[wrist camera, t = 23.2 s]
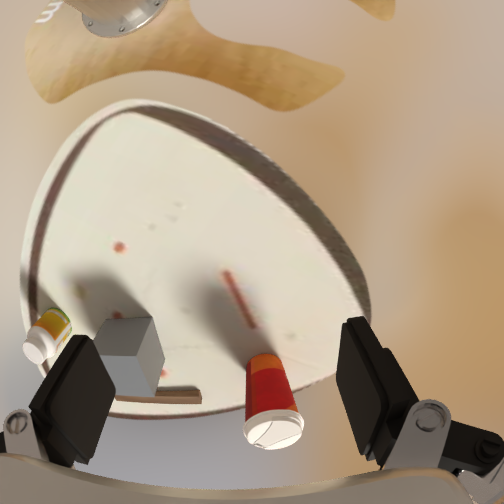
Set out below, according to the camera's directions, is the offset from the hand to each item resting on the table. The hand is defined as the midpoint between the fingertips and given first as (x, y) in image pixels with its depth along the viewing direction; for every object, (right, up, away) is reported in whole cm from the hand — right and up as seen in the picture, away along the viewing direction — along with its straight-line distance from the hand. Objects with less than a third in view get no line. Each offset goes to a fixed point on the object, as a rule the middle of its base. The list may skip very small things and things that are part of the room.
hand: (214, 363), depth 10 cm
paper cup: (+3, -14, +34) cm, 37 cm away
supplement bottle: (-30, -7, +30) cm, 43 cm away
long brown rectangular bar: (-15, -20, +36) cm, 44 cm away
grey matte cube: (-16, -9, +32) cm, 37 cm away
